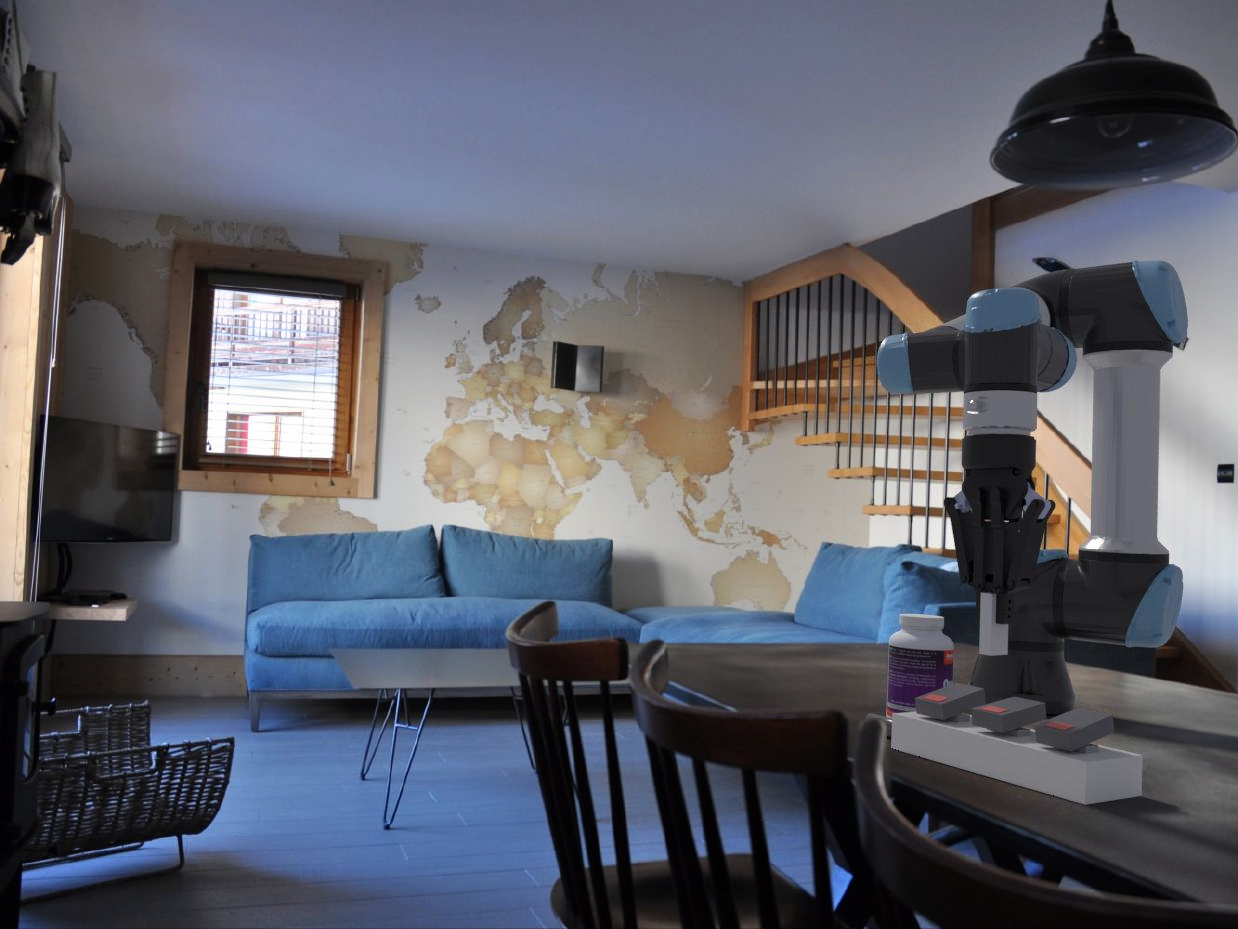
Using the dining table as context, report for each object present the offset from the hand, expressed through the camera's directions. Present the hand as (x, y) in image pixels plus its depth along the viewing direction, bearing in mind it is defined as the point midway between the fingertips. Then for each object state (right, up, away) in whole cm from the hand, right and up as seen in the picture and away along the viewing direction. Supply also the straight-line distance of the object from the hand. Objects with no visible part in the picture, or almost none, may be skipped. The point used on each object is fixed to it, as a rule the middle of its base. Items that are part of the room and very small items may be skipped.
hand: (993, 653), depth 112 cm
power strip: (0, -13, +4) cm, 13 cm away
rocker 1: (-2, -7, +8) cm, 11 cm away
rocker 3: (+6, -7, -6) cm, 11 cm away
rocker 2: (+2, -7, +1) cm, 7 cm away
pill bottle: (-2, -14, +22) cm, 26 cm away
